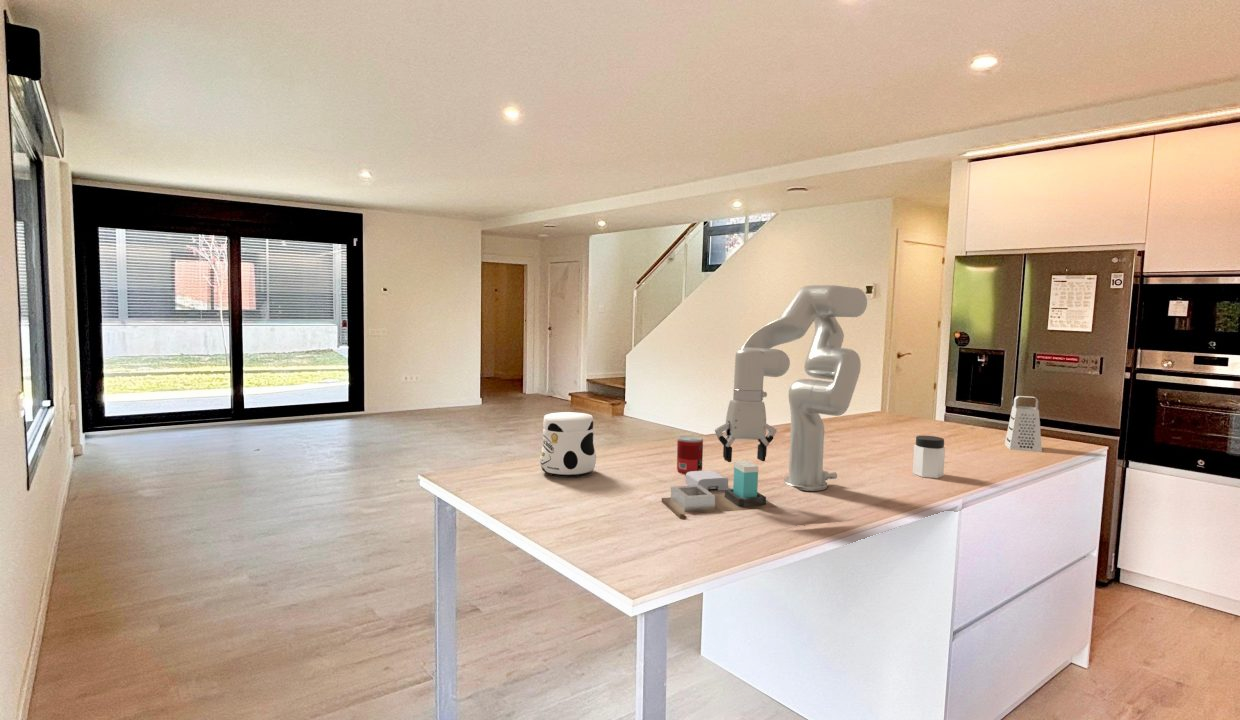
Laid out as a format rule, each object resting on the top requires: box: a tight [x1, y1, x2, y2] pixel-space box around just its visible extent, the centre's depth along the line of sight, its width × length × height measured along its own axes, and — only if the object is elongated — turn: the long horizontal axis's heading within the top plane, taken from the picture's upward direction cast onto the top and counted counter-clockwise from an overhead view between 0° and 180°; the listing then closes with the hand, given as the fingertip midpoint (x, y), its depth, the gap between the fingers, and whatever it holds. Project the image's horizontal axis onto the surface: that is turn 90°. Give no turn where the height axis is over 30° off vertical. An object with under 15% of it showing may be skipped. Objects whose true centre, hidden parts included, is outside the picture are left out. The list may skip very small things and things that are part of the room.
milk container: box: [539, 411, 597, 478], centre depth 201 cm, size 17×17×18 cm
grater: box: [1004, 395, 1043, 453], centre depth 250 cm, size 10×10×20 cm
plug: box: [732, 460, 759, 498], centre depth 172 cm, size 4×6×10 cm, turn 15°
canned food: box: [676, 435, 704, 475], centre depth 205 cm, size 8×8×11 cm
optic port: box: [670, 485, 716, 512], centre depth 169 cm, size 8×10×4 cm
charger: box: [685, 469, 729, 491], centre depth 189 cm, size 5×9×15 cm
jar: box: [912, 435, 946, 479], centre depth 207 cm, size 9×8×12 cm
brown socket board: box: [661, 488, 778, 519], centre depth 171 cm, size 27×14×3 cm, turn 105°
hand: (744, 460), depth 171 cm, fingers open, 9 cm apart
